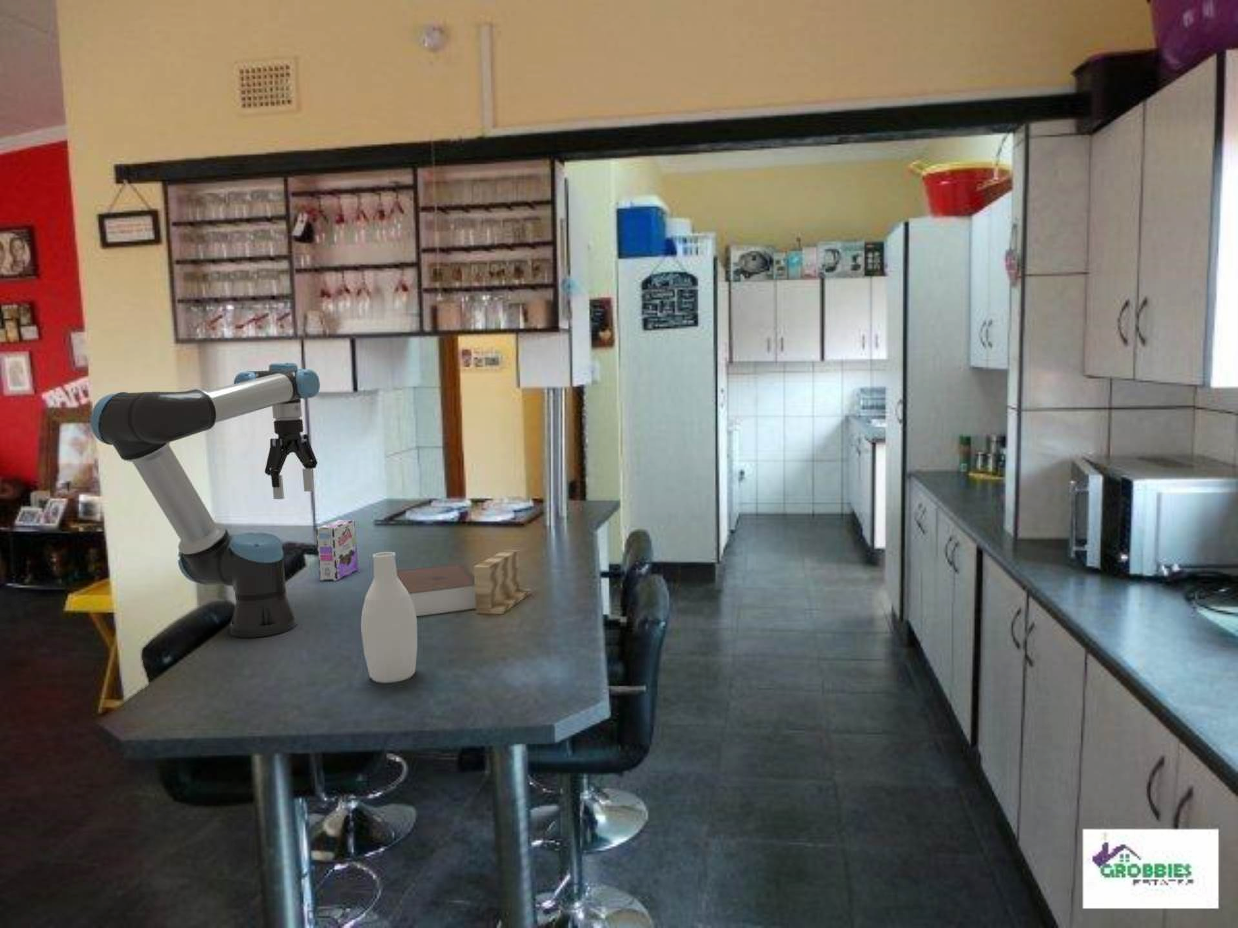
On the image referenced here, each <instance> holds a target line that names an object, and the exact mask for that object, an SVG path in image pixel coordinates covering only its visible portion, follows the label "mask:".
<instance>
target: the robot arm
mask: <svg viewBox="0 0 1238 928" xmlns="http://www.w3.org/2000/svg"><path fill="white" fill-rule="evenodd" d="M233 380H234V381H233V384H229V385H225V386H221V387H217V388H212V389H210V390H206V391H204V390H202V389H199V388H197V389H196V388H195V389H191V390H190V389H189V390H186V391H144V392H142V391H141V392H127V391H120V392H115V393H111V394H107V395H105V396H103V397H101V398H100V399H99V400H98V401H97V402H96V403H95V404H94V406H93V408H92V410H91V411H92V414H91V415H90V428H91V431H92V434H93V435H94V436H95V438H96V439H97V440H98V441H99V442H101V443H103V444H104V445H105V444H106V445H109V446H113V447H114V449H115V451H116V452H117V454H118V455H119V457H120V458H121V460H122V461H124V462H129V463H132V464H133V465H134V467H135V469H136V470H137V472H138V474H139V475H140V477H141V478H142V480H143V482H144V484H145V485H146V486H147V489H149V491H150V493H151V495H152V497H154V499H155V501H156V502H157V504H158V506H159V507H160V509H161V510H162V513H164V516H165V518H166V519H167V520H168V522H169V524H170V526H172V529H173V530H174V532H175V534H176V535H177V537H178V538H179V539H180V541H179V543H178V546H177V548H178V551H179V552H178V555H177V557H178V558H179V560H177V563H178V568H179V570H180V572H181V573H182V574H183V576H184V577H185V579H187V580H189V581H191V582H193V583H197V584H201V585H204V586H206V585H207V586H211V585H212V586H229V587H234V596H235V597H234V598H235V603H234V608H233V612H232V615H231V621H230V625H229V626H230V627H229V628H230V629H229V630H230V635H232V636H233V637H237V638H248V639H250V638H262V637H269V636H273V635H277V634H281V633H285V632H288V631H290V630H292V629H294V628H295V627H296V625H297V616H296V613H295V612H294V610H293V607H292V605H291V602H290V600H289V597H288V596H287V588H286V575H285V573H286V572H285V571H286V570H285V560H284V558H285V557H284V550H283V546H282V541H281V539H280V538H279V537H278V536H276V535H275V534H272V533H267V532H246V533H245V532H244V533H239V534H236V535H233V536H232V537H231V535H230V533H229V532H228V530H227V528H226V526H225V525H224V524H222V523H220V522H215V521H214V519H213V517H212V515H211V514H210V511H209V510H208V509H207V507H206V505H205V504H204V502H203V500H202V499H201V497H200V496H199V493H198V492H197V490H196V488H195V486H194V484H193V483H192V482H191V480H190V478H189V476H188V475H187V473H186V472H185V469H184V468H183V466H182V464H181V463H180V461H179V460H178V458H177V456H176V453H174V451H173V449H172V448H171V446H170V444H171V442H176V441H178V440H183V438H187V437H190V436H193V435H196V434H199V433H203V432H205V431H208V430H211V429H212V428H213V427H215V425H216V423H219V422H223V421H227V420H230V419H232V418H233V419H234V418H236V417H239V416H244V415H246V414H250V413H253V412H256V411H260V410H263V409H268V408H270V407H271V408H272V418H273V419H274V420H273V430H274V434H276V435H277V437H276V438H270V440H269V443H270V445H269V450H268V455H267V460H266V465H265V469H264V473H265V474H266V475H267V476H270V478H271V486H272V494H273V499H274V500H285V495H284V494H285V493H284V492H285V491H284V482H283V481H284V480H283V475H282V474H281V472H282V470H283V466H284V464H285V462H286V459H287V457H288V456H289V455H290V454H292V453H294V455H295V456H296V457H297V458H298V460H299V462H300V463H301V465H302V466H303V467H304V468H302V470H301V471H302V480H303V492H315V489H314V469H316V468H317V465H318V459H317V458H316V455H315V453H314V451H313V448H312V445H311V443H310V439H309V434H307V433H305V434H301V433H303V432H304V422H303V418H302V416H303V413H302V412H303V411H302V401H301V400H302V399H303V400H306V399H312V398H314V397H316V396H317V395H318V393H319V391H320V387H321V382H320V378H319V375H318V373H317V372H316V371H314V370H312V369H309V368H306V369H305V368H299V369H298V365H297V363H295V362H276V363H270V364H269V366H268V370H247V371H242V372H239V373H237V375H236V376H235V378H234V379H233Z"/></svg>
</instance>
